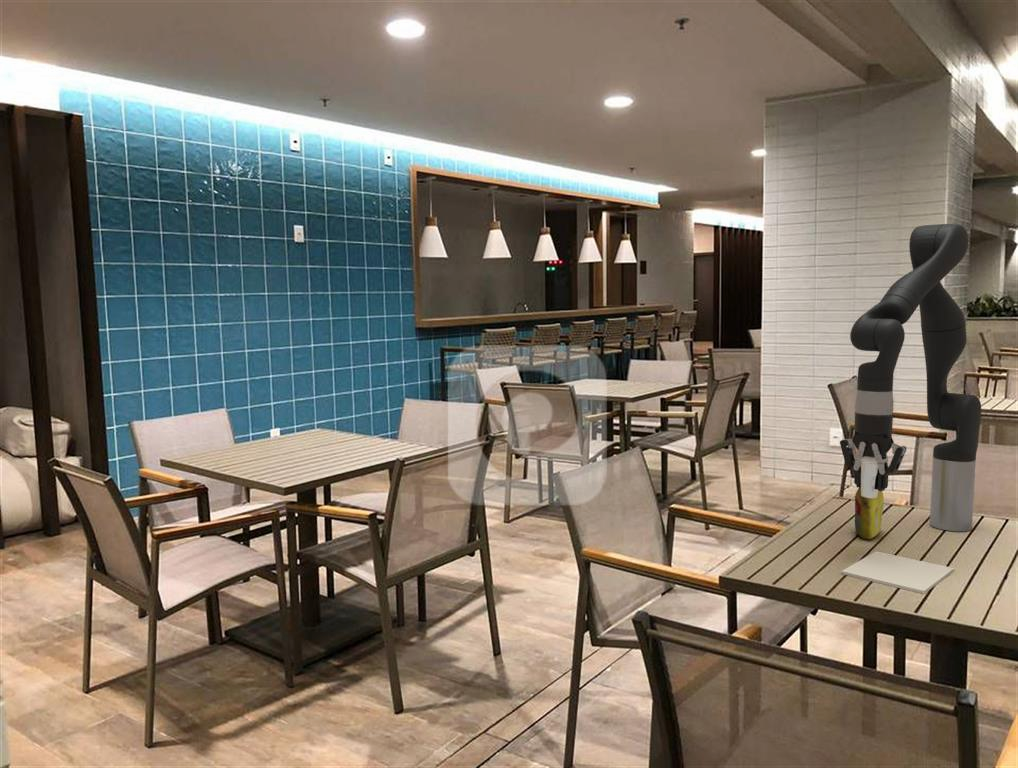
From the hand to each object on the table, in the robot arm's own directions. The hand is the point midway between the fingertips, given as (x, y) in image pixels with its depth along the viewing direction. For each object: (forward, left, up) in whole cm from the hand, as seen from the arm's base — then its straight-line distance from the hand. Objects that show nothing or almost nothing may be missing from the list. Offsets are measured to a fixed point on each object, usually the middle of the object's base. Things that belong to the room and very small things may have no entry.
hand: (870, 488), depth 175 cm
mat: (+6, +9, -15) cm, 19 cm away
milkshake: (0, 0, -2) cm, 2 cm away
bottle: (-16, -6, -16) cm, 23 cm away
